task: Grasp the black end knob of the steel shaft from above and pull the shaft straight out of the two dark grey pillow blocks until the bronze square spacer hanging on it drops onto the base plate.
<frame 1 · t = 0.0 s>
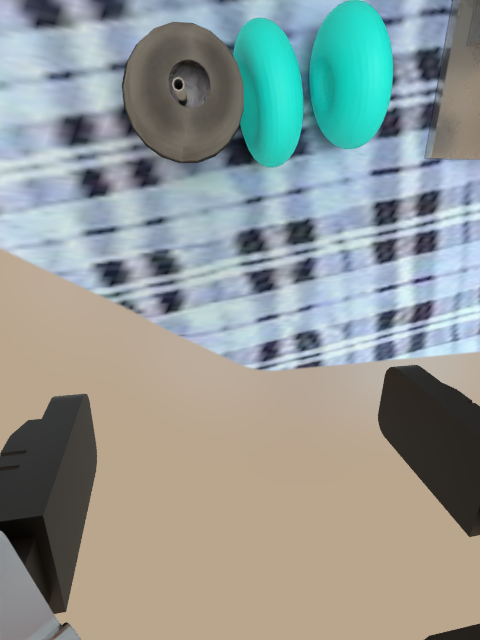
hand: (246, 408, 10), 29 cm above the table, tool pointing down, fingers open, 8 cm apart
donuts: (286, 101, 35), on the table
beverage cup: (176, 121, 33), on the table
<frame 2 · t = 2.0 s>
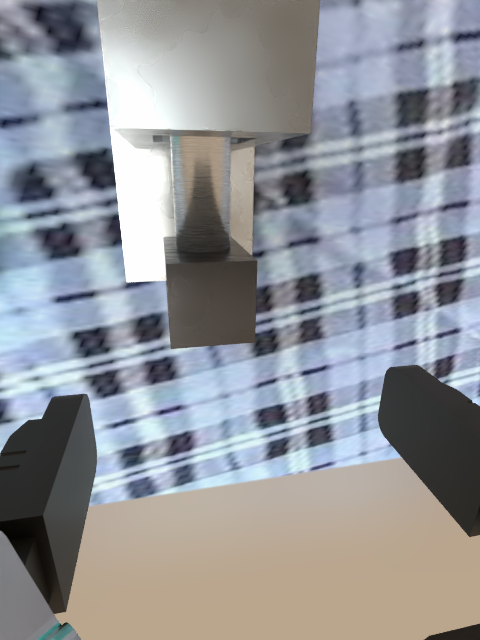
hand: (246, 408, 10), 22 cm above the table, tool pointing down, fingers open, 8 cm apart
pillow blocks: (182, 87, 26), on the table
shaft: (198, 44, 16), point 11 cm above the table, slide at 0.0 cm, touching spacer
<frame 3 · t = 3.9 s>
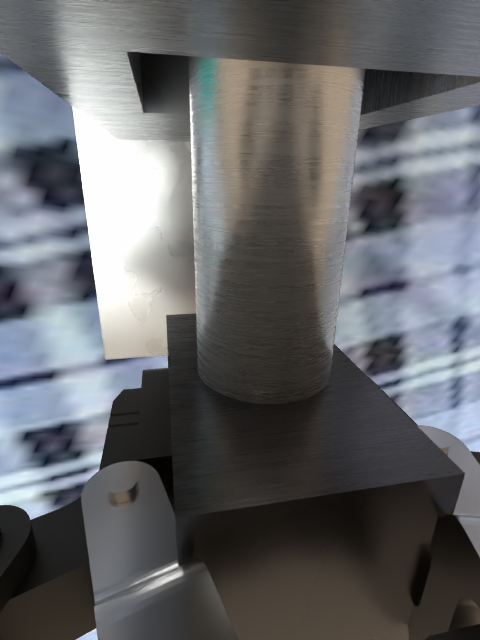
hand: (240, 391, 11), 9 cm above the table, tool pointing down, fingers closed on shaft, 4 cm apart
pillow blocks: (201, 31, 15), on the table
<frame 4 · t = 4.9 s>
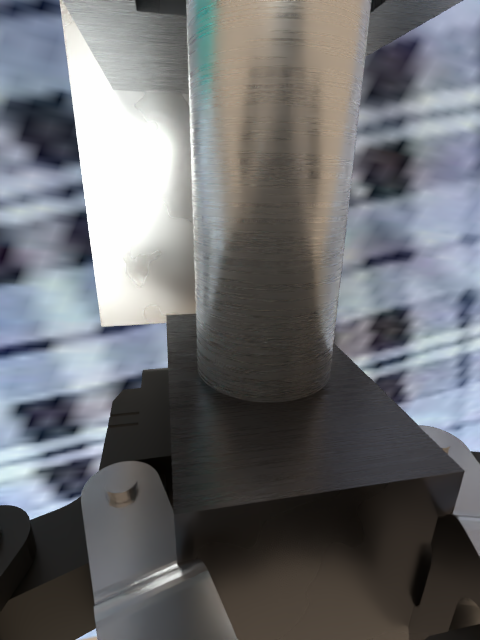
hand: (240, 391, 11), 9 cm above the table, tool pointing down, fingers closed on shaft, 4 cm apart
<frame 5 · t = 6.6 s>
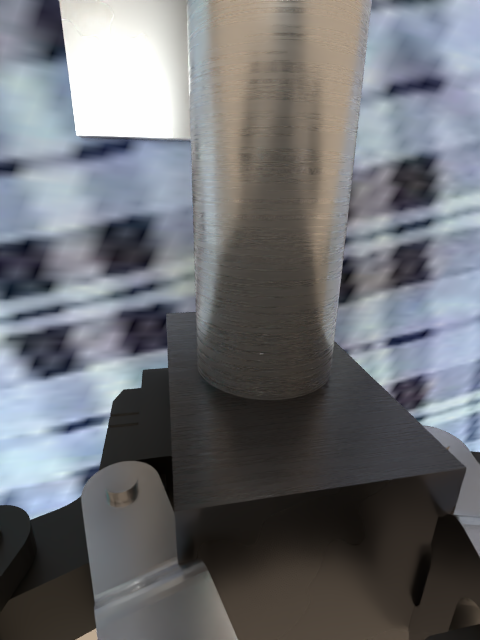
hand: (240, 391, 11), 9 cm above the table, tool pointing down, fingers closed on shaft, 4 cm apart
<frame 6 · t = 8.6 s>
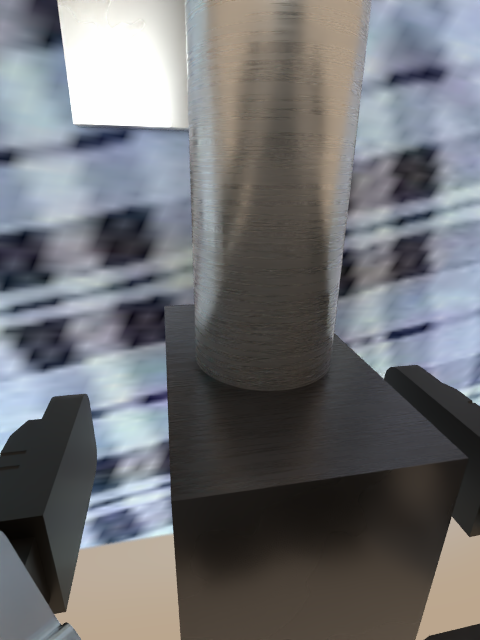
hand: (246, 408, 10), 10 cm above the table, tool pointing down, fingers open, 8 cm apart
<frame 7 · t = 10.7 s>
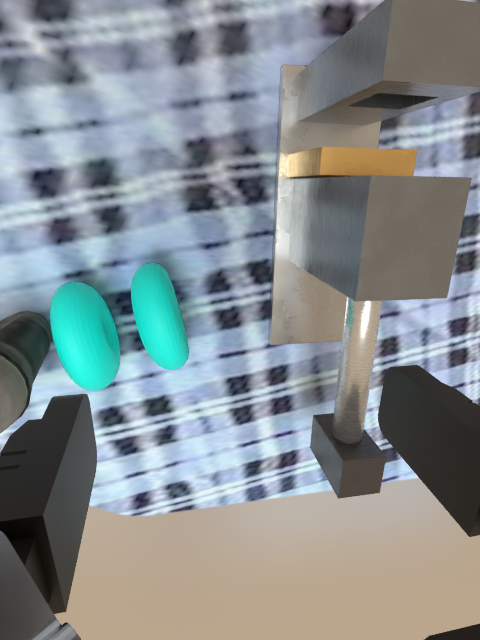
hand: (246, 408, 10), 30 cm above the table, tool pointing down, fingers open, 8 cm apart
pillow blocks: (319, 220, 40), on the table
donuts: (130, 308, 39), on the table
shaft: (357, 349, 33), point 11 cm above the table, slide at 9.7 cm
spacer: (328, 166, 37), point 1 cm above the table, touching pillow blocks
beverage cup: (29, 332, 38), on the table
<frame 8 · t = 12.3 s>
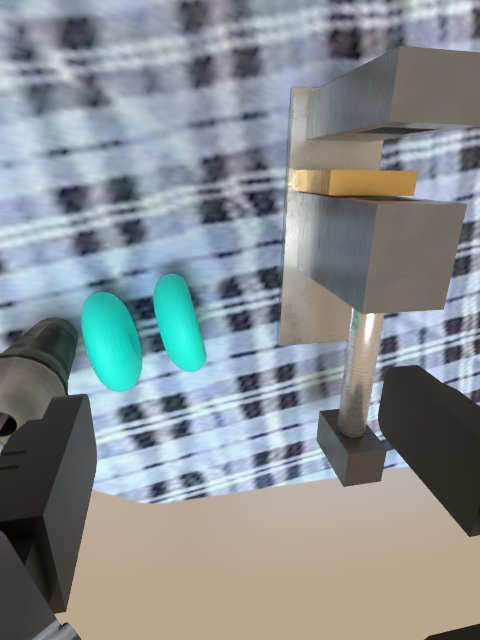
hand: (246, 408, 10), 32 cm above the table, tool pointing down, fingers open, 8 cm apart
pillow blocks: (325, 229, 42), on the table
donuts: (149, 314, 42), on the table
shaft: (361, 352, 36), point 11 cm above the table, slide at 9.7 cm
spacer: (334, 180, 40), point 1 cm above the table, touching pillow blocks
beverage cup: (55, 336, 41), on the table
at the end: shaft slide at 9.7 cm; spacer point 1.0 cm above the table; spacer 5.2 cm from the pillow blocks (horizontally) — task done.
